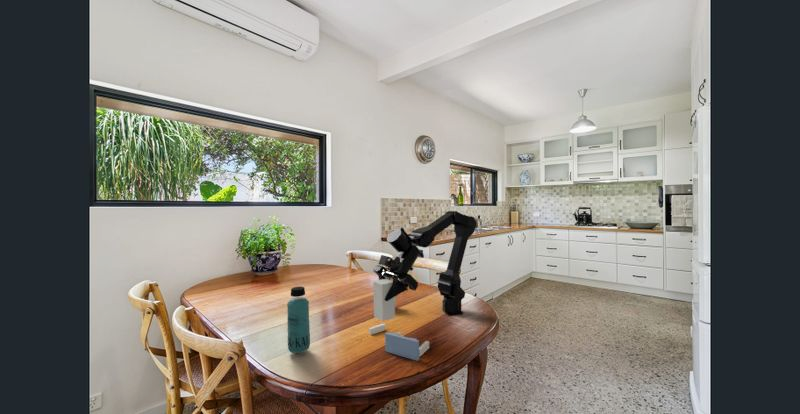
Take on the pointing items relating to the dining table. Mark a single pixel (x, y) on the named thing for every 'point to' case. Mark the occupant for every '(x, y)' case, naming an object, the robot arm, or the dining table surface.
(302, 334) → the beverage bottle
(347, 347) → the dining table surface
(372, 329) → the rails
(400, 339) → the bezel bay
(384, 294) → the plug block
